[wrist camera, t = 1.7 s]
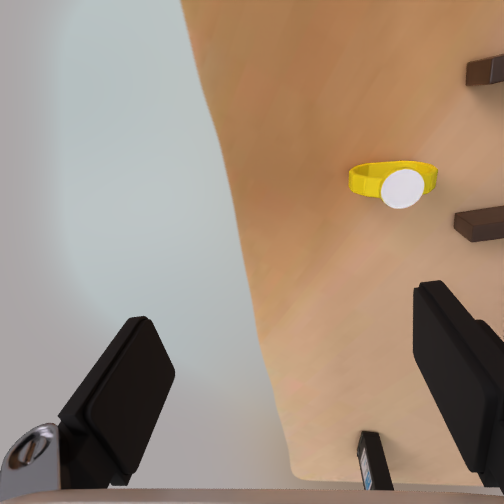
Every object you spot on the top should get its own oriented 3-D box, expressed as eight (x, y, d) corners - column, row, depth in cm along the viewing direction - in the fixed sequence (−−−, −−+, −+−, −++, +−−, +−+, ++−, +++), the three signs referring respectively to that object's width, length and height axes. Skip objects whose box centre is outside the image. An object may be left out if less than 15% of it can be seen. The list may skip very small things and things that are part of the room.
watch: (421, 149, 24) (458, 164, 19) (416, 183, 25) (450, 206, 20) (344, 156, 25) (359, 172, 20) (343, 188, 26) (357, 211, 21)
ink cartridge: (361, 429, 41) (376, 498, 34) (378, 431, 41) (397, 501, 34) (355, 450, 43) (368, 518, 36) (371, 452, 43) (388, 521, 36)
